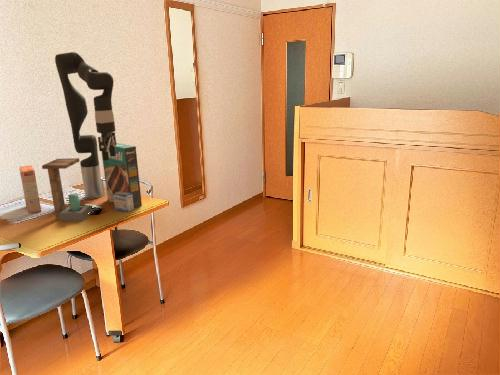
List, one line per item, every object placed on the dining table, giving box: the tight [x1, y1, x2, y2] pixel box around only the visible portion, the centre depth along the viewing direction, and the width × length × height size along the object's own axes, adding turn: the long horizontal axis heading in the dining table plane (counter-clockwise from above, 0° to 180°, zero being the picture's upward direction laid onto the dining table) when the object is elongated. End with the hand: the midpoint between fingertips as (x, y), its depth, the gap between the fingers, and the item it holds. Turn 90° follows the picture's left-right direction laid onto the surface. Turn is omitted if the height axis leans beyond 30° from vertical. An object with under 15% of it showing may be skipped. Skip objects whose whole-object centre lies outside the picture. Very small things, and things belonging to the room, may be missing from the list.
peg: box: [67, 193, 81, 211], centre depth 180 cm, size 4×4×11 cm
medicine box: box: [113, 192, 135, 213], centre depth 189 cm, size 8×4×9 cm, turn 70°
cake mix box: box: [101, 142, 143, 209], centre depth 197 cm, size 22×6×30 cm, turn 49°
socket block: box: [59, 205, 93, 223], centre depth 181 cm, size 10×10×4 cm
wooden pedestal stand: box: [41, 157, 80, 221], centre depth 178 cm, size 14×10×26 cm
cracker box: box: [19, 165, 42, 214], centre depth 192 cm, size 14×6×21 cm, turn 33°
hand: (109, 158), depth 171 cm, fingers open, 8 cm apart
